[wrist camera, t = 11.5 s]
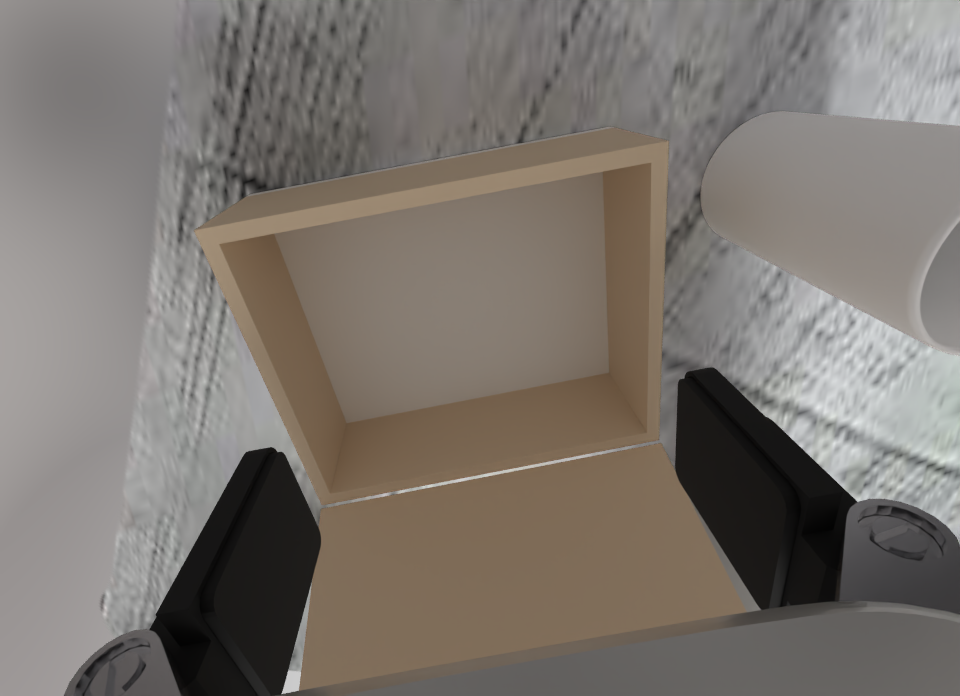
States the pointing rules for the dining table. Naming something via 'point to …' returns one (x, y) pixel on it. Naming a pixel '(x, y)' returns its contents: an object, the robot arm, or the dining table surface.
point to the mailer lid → (509, 567)
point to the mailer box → (456, 309)
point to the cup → (849, 212)
